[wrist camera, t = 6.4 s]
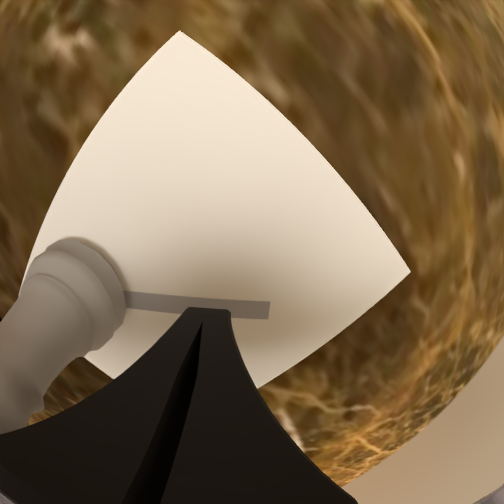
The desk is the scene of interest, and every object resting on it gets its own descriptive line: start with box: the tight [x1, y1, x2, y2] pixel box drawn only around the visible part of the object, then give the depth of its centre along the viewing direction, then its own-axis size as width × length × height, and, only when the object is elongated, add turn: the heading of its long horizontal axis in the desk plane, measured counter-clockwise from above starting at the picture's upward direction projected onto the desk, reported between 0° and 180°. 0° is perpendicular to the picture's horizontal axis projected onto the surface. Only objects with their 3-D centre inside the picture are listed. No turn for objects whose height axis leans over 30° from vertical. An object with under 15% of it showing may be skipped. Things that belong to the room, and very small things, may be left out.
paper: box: [19, 31, 411, 389], centre depth 10 cm, size 14×12×1 cm
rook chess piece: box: [0, 240, 126, 434], centre depth 6 cm, size 4×4×8 cm
